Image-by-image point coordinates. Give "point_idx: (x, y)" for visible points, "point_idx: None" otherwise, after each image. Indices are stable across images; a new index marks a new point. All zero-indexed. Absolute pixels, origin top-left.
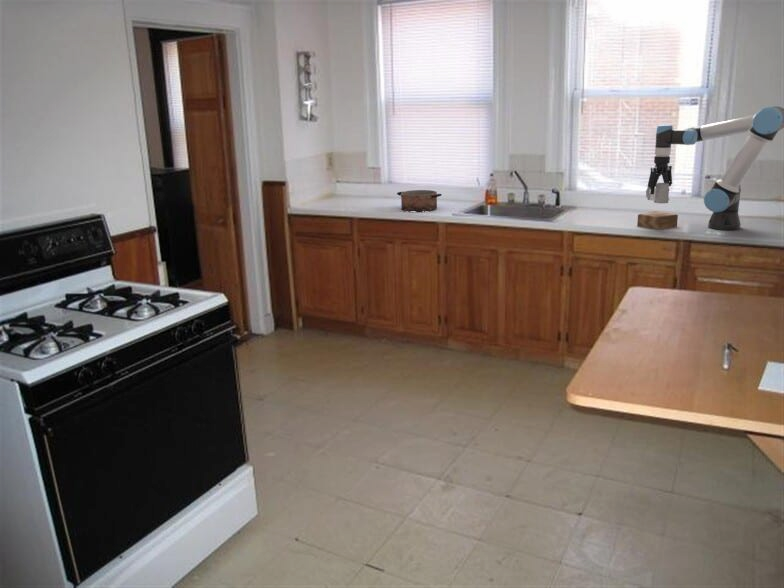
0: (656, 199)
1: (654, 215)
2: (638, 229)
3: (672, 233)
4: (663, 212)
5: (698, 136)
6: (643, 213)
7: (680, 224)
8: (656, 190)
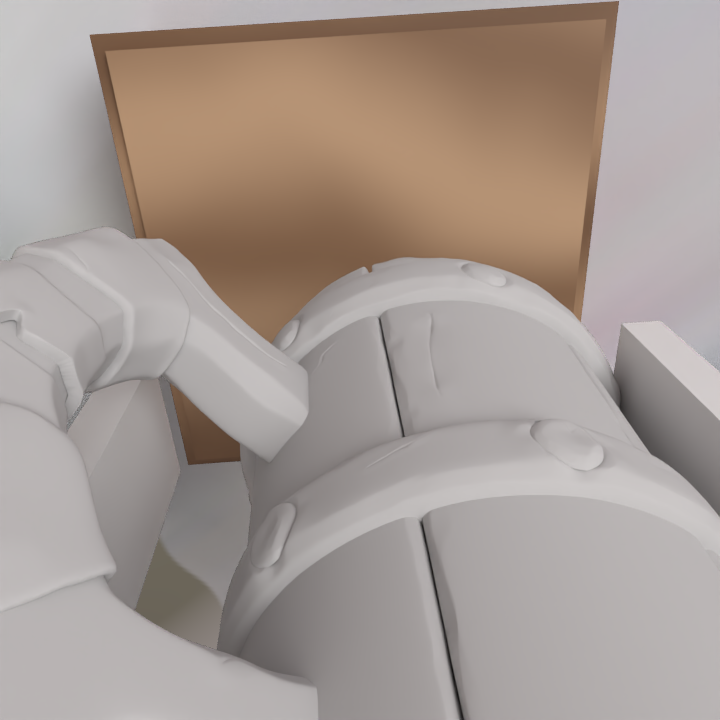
0: (241, 464)
1: (241, 318)
2: (5, 238)
3: (195, 551)
4: (581, 209)
5: None
6: (224, 55)
7: (657, 306)
8: (220, 631)
